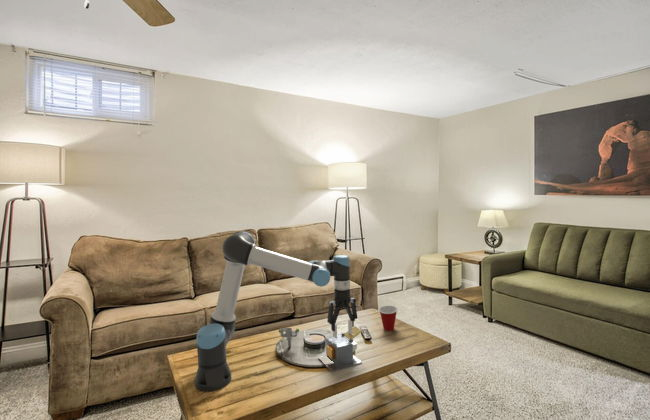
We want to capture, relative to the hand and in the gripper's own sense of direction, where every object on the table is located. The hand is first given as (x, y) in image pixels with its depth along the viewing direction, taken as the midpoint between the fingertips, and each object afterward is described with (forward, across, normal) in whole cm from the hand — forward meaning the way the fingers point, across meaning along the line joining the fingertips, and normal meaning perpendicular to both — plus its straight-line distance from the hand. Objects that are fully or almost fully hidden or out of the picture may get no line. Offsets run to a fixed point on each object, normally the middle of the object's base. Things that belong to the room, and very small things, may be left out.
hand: (342, 335), depth 162 cm
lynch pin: (+9, 0, 0) cm, 9 cm away
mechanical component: (+12, -18, +25) cm, 33 cm away
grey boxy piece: (+12, -2, 0) cm, 12 cm away
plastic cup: (+11, +40, +18) cm, 45 cm away
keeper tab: (0, +6, 0) cm, 6 cm away
